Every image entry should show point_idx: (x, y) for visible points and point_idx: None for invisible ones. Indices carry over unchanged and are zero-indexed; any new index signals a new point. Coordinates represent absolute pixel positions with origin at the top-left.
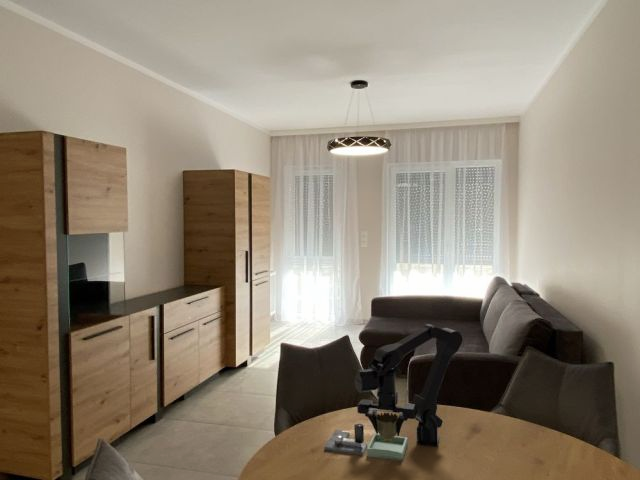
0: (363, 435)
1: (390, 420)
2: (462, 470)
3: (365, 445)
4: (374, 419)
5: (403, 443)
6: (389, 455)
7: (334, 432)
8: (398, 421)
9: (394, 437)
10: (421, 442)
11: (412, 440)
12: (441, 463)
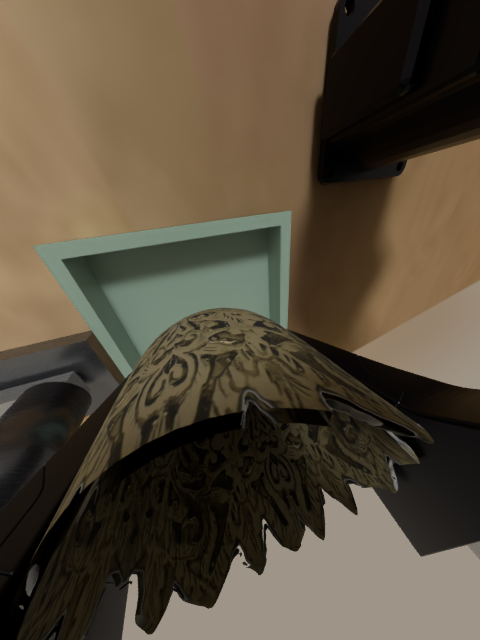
0: (68, 432)
1: (232, 343)
2: (408, 308)
3: (96, 360)
4: (121, 625)
5: (280, 295)
6: None
7: None
8: (388, 498)
9: (212, 234)
10: (340, 170)
11: (286, 128)
12: (373, 301)
